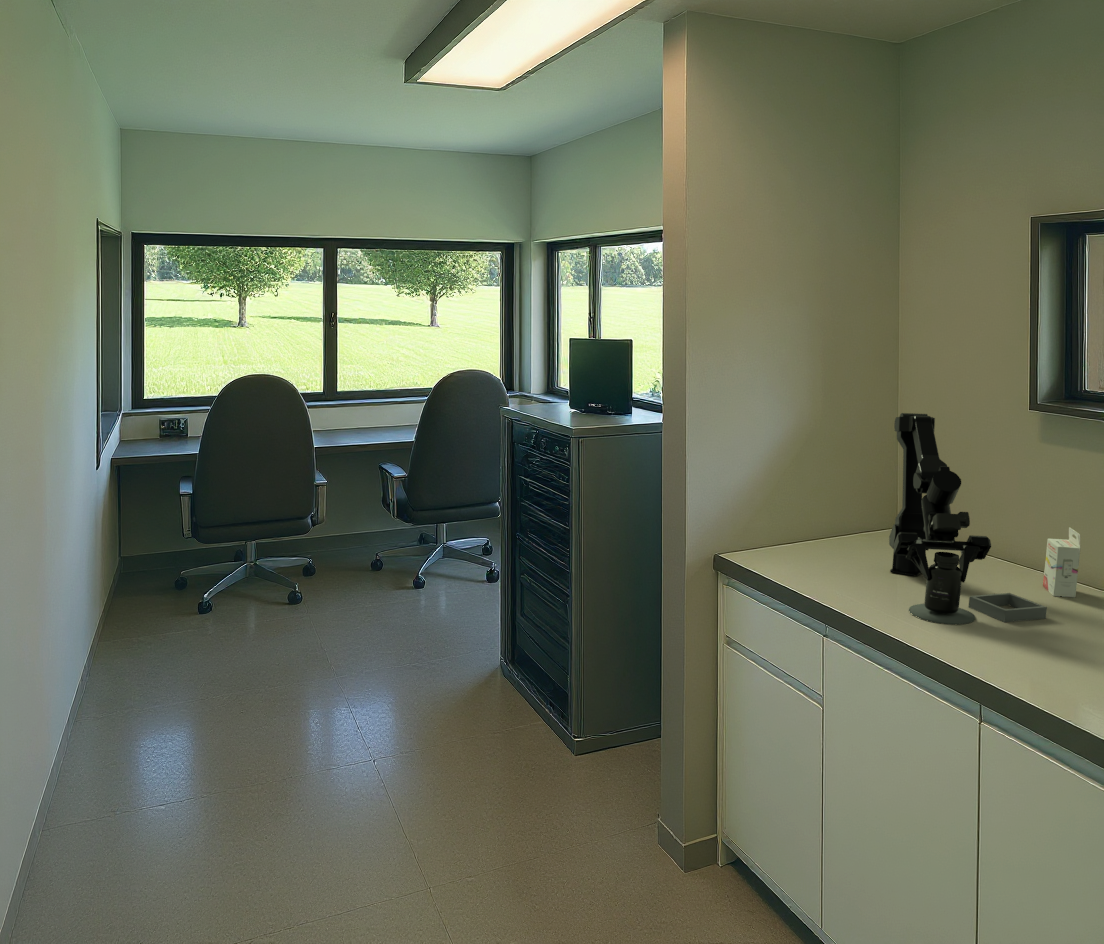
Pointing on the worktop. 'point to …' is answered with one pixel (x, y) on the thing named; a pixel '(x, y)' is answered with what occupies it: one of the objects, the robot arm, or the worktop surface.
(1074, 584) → the ink cartridge box
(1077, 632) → the worktop surface
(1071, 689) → the worktop surface
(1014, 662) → the worktop surface
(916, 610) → the rubber mat
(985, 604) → the square grey tray
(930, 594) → the supplement bottle
